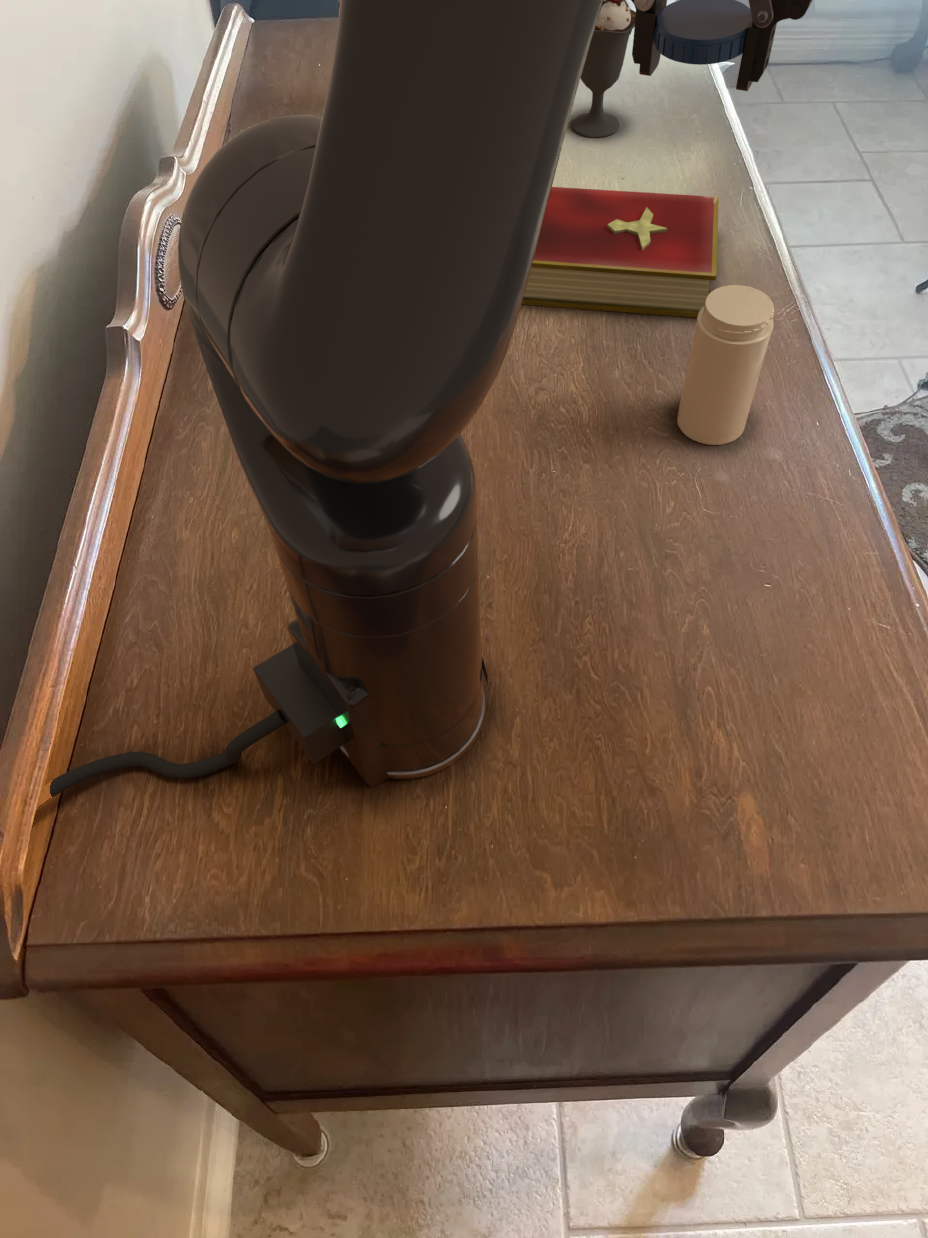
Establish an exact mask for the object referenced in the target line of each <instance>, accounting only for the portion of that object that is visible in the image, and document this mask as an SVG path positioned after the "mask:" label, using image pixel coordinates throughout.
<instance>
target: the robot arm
mask: <svg viewBox="0 0 928 1238" xmlns="http://www.w3.org/2000/svg"><path fill="white" fill-rule="evenodd" d="M603 2H604V0H340V3H339V8H340V10H339V9H338V12H339V14H338V24H337V29H336V37H335V43H334V50H333V56H332V57H333V58H332V62H331V63H332V64H331V70H330V77H329V80H328V81H329V82H328V86H327V90H326V97H325V100H324V105H323V108H322V109H323V110H322V115H317V114H288V115H281V116H277V117H272V118H269V119H266V120H263V121H260V122H257V123H255V124H253V125H250V126H249V127H247V128H245V129H243V130H241V131H240V132H238V133H237V134H235V135H234V136H232V137H231V138H230V139H229V140H227V141H226V142H225V143H224V144H223V145H222V146H221V147H220V148H219V149H218V150H217V151H215V153H214V154H213V155H212V156H211V157H210V159H209V160H208V161H207V162H206V163H205V165H204V166H203V168H202V170H201V171H200V173H199V175H198V176H197V178H196V180H195V181H194V184H193V186H192V188H191V189H190V192H189V194H188V197H187V200H186V202H185V205H184V207H183V212H182V216H181V219H180V225H179V232H178V240H177V241H178V243H177V265H178V275H179V281H180V285H181V290H182V291H181V292H182V295H183V300H184V303H185V306H186V307H185V308H186V310H187V313H188V317H189V320H190V323H191V326H192V328H193V332H194V335H195V338H196V341H197V344H198V348H199V350H200V353H201V357H202V359H203V362H204V365H205V368H206V370H207V373H208V376H209V379H210V382H211V385H212V387H213V391H214V393H215V396H216V399H217V402H218V405H219V408H220V410H221V413H222V417H223V419H224V422H225V424H226V428H227V430H228V431H227V432H228V434H229V437H230V439H231V442H232V445H233V448H234V451H235V453H236V457H237V459H238V462H239V465H240V467H241V469H242V471H243V474H244V476H245V478H246V480H247V482H248V485H249V487H250V489H251V491H252V493H253V496H254V497H255V500H256V503H257V504H258V506H259V509H260V511H261V513H262V515H263V517H264V520H265V523H266V525H267V527H268V531H269V532H270V533H269V534H270V536H271V539H272V542H273V545H274V549H275V553H276V555H277V558H278V561H279V565H280V568H281V571H282V575H283V578H284V581H285V583H286V588H287V590H288V594H289V597H290V601H291V603H292V606H293V610H294V613H295V616H296V618H295V619H294V620H292V621H290V622H289V623H288V624H287V632H288V634H289V637H290V641H291V643H292V644H291V645H289V646H287V647H286V648H284V649H282V650H280V651H279V652H277V653H275V654H274V655H272V656H270V657H269V658H267V659H266V660H263V661H262V662H260V663H259V664H257V665H255V666H254V667H252V669H253V672H254V674H255V677H256V679H257V682H258V684H259V687H260V690H261V691H262V694H263V696H264V698H265V700H266V701H267V702H268V704H269V705H270V707H271V708H272V709H273V711H274V712H273V713H271V714H270V715H267V716H266V717H264V718H263V719H261V720H260V721H258V722H256V723H255V724H253V725H252V726H250V727H248V728H247V729H245V730H244V731H242V732H240V733H239V734H238V735H236V736H235V737H233V738H232V739H231V740H230V741H229V742H228V743H227V745H226V747H225V751H222V752H220V753H218V754H216V755H214V756H211V757H208V758H206V759H202V760H197V761H194V762H188V763H187V762H186V763H176V762H172V761H168V760H167V759H164V758H162V757H160V756H158V755H156V754H152V753H149V752H145V751H129V752H128V751H127V752H123V753H118V754H114V755H110V756H106V757H105V756H104V757H102V758H99V759H96V760H93V761H89V762H87V763H84V764H82V765H79V766H77V767H75V768H72V769H70V770H68V771H66V772H64V773H62V774H60V775H58V776H57V777H55V778H53V779H52V780H53V781H52V782H51V785H50V794H51V796H52V797H53V798H55V797H56V796H57V795H60V794H61V793H63V792H64V791H66V790H68V789H70V788H72V787H74V786H76V785H78V784H80V783H82V782H85V781H87V780H89V779H92V778H95V777H98V776H100V775H103V774H107V773H111V772H113V771H118V770H123V769H128V768H134V767H142V768H145V769H148V770H150V771H152V772H154V773H156V774H159V775H161V776H164V777H168V778H172V779H179V780H180V779H184V780H185V779H194V778H198V777H202V776H206V775H209V774H212V773H216V772H219V771H220V770H223V769H226V768H227V767H229V766H231V765H233V764H235V763H238V762H239V760H240V759H241V757H242V752H244V751H245V750H247V749H248V748H249V747H251V746H253V745H254V744H255V743H257V742H259V741H260V740H262V739H264V738H265V737H267V736H268V735H270V734H272V733H273V732H275V731H277V730H278V729H280V728H281V727H283V726H285V727H286V728H287V730H288V732H290V734H291V735H292V737H293V738H294V740H295V741H296V742H297V744H298V745H299V746H300V748H301V749H302V751H303V752H304V753H305V755H306V756H307V758H308V759H309V760H310V762H311V764H313V765H314V764H316V763H318V762H319V761H321V760H323V759H324V758H325V757H327V756H329V755H331V754H332V753H334V752H335V751H336V750H339V751H340V752H341V754H343V756H344V757H345V758H346V759H347V760H348V761H349V762H350V763H351V764H352V766H353V767H354V768H355V770H356V771H357V772H358V774H359V775H360V777H361V778H362V779H363V780H364V781H365V783H366V784H367V785H368V786H369V787H371V788H374V787H376V786H378V785H379V784H381V783H382V782H385V781H386V780H388V779H394V780H413V779H419V778H424V777H427V776H431V775H434V774H437V773H439V772H441V771H443V770H445V769H447V768H449V767H450V766H452V765H453V764H455V763H456V762H458V761H459V760H460V759H461V758H463V756H464V755H465V754H467V753H468V751H469V750H470V749H471V748H472V746H473V745H474V743H475V742H476V740H477V738H478V737H479V735H480V732H481V730H482V727H483V724H484V721H485V715H486V693H485V689H484V682H483V681H484V679H485V682H486V685H487V687H488V686H489V683H488V682H489V680H488V679H489V677H488V671H487V667H486V664H485V662H484V658H483V655H482V630H481V629H482V628H481V625H482V624H481V605H480V604H481V601H480V600H481V599H480V580H479V579H480V578H479V577H480V575H479V547H478V546H479V545H478V544H479V543H478V516H477V515H478V507H477V506H478V505H477V504H478V503H477V502H478V501H477V483H476V482H477V481H476V474H475V469H474V464H473V460H472V456H471V454H470V451H469V449H468V446H467V444H466V442H465V439H464V437H463V435H462V432H463V431H464V430H465V429H466V427H467V426H468V424H469V423H470V422H471V420H473V418H474V417H475V416H476V414H477V413H478V411H479V409H480V408H481V406H482V404H483V403H484V401H485V399H486V397H487V395H488V393H489V392H490V390H491V388H492V386H493V385H494V383H495V381H496V379H497V378H498V375H499V372H500V370H501V368H502V365H503V363H504V360H505V358H506V355H507V354H508V350H509V347H510V346H511V345H510V344H511V341H512V338H513V335H514V332H515V330H516V325H517V322H518V318H519V315H520V312H521V308H522V305H523V304H522V301H523V298H524V294H525V290H526V286H527V282H528V278H529V274H530V270H531V266H532V263H533V259H534V255H535V251H536V247H537V243H538V239H539V235H540V231H541V227H542V223H543V219H544V215H545V211H546V208H547V204H548V200H549V196H550V192H551V188H552V187H553V183H554V180H555V176H556V172H557V168H558V163H559V160H560V156H561V151H562V148H563V144H564V140H565V137H566V133H567V129H568V125H569V122H570V118H571V113H572V111H573V106H574V103H575V98H576V96H577V92H578V88H579V84H580V81H581V74H582V70H583V67H584V63H585V60H586V56H587V53H588V49H589V46H590V42H591V39H592V36H593V33H594V30H595V26H596V23H597V20H598V17H599V14H600V11H601V8H602V5H603ZM630 2H632V4H633V5H634V8H635V12H636V18H635V27H634V28H633V41H632V49H631V57H632V61H633V64H635V65H639V70H638V71H639V72H638V73H639V74H638V75H641V76H647V77H651V76H652V75H653V74H654V73H655V71H656V69H657V68H658V66H659V64H660V59H661V56H662V55H661V54H660V52H659V51H658V50H656V46H655V44H654V33H655V27H656V24H657V16H658V14H659V13H660V12H661V10H662V9H663V8H664V7H666V6H667V5H668V0H630ZM812 2H813V0H748V6H749V8H750V10H751V16H752V20H751V22H750V23H749V25H748V27H747V31H746V36H745V42H744V47H743V52H742V54H741V58H740V63H739V68H738V74H737V79H736V84H735V85H736V86H735V89H736V90H737V91H742V92H743V91H744V92H748V91H749V89H750V88H751V86H752V84H753V83H758V82H760V79H761V78H762V76H763V74H764V73H765V71H766V69H767V67H768V65H769V63H770V59H771V53H772V49H773V44H774V38H775V34H776V29H777V25H778V23H779V22H781V21H785V20H788V19H790V20H794V21H795V20H796V21H797V20H801V19H802V18H803V17H804V16H806V13H807V11H808V10H809V8H810V6H811V5H812ZM483 677H484V678H483Z"/></svg>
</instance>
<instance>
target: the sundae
mask: <svg viewBox="0 0 928 1238" xmlns="http://www.w3.org/2000/svg"><path fill="white" fill-rule="evenodd" d="M635 18H636V10H633V9H631V8H630V6H629V4H628V2H627V1H626V0H604V2H603V5H602V8H601V11H600V14H599V17H598V20H597V23H596V26H595V30H594V33H593V36H592V39H591V42H590V46H589V49H588V53H587V56H586V60H585V63H584V67H583V70H582V74H581V78H580V81H581V82H582V83H583V84H584V86H585V87H586V88H587V89H588V90H590V91H591V93H592V94H591V105H590V109H589V111H588V112H585V113H582V114H581V113H580V114H579V115H577V116H576V117H575V118H574V119H573V120H572V122H571V128H572V130H573V131H574V132H575V133H577V134H578V135H581V136H583V137H588V138H604V137H608V136H611V135H613V134H615V133H616V132H617V131H618V130H619V129H620V127H621V126H620V125H621V123H620V121H619V119H618V118H617V117H616V116H615V115H612V114H610V113H607V112H605V111H604V95H605V93H606V91H607V90H609V89H611V88H612V87H613V86H614V84H616V82H617V81H618V80H619V79H620V75H621V73H622V69H623V66H624V61H625V56H626V53H627V47H628V43H629V39H630V36H631V34H632V32H633V30H634V28H635Z"/></svg>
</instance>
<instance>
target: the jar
mask: <svg viewBox="0 0 928 1238" xmlns="http://www.w3.org/2000/svg"><path fill="white" fill-rule="evenodd" d="M775 312H776V311H775V305H774V303H773V301H772V299H771V298H770V297H769V295H767V294H766V293H765V292H763V291H762V290H759V289H758V288H755V287H752V286H748V285H743V284H742V285H741V284H729V285H723V286H720V287H717V288H714V290H712V291H710V292H709V295H708V296H707V298H706V301H705V305H704V307H702V309H701V310H700V311H699V313H698V317H697V318H696V322H695V327H694V332H693V337H692V342H691V347H690V351H689V352H690V353H689V357H688V362H687V367H686V372H685V376H684V381H683V386H682V392H681V396H680V401H679V406H678V411H677V414H676V415H677V416H676V421H677V426H678V427H679V430H680V431H681V432H682V433H683V434H684V435H685V436H686V437H687V438H689V439H690V440H692V441H695V442H697V443H699V444H702V445H708V446H709V445H710V446H721V445H726V444H730V443H732V442H734V441H736V440H738V438H740V437H741V436H742V435H743V433H744V432H745V429H746V426H747V421H748V418H749V416H750V413H751V408H752V404H753V400H754V398H755V394H756V390H757V386H758V383H759V379H760V376H761V373H762V369H763V365H764V362H765V359H766V356H767V352H768V348H769V345H770V341H771V338H772V334H773V330H774V319H773V318H774V316H775Z"/></svg>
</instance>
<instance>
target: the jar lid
mask: <svg viewBox="0 0 928 1238" xmlns="http://www.w3.org/2000/svg"><path fill="white" fill-rule="evenodd" d="M751 20H752V16H751V10H750V6H749V5H746V4H745V3H743V2H741V1H739V0H675V1H674V2H671V3H669V4H667V5H666V7H664V8H663V9H662V10H661V12H660V13H659V14H658V16H657V24H656V27H655V33H654V44H655V46H656V50H658V51H659V52H660V54H661V55H660V56H663V57H665V58H666V59H668V60H671V61H674V62H677V63H680V64H687V65H696V66H697V65H698V66H699V65H700V66H702V65H703V66H704V65H714V64H715V65H716V64H720V63H724V62H727V61H731V60H732V59H733V60H734V59H736V58H737V57H740V56H742V52H743V47H744V42H745V36H746V31H747V27H748V25H749V23H750V22H751Z"/></svg>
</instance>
